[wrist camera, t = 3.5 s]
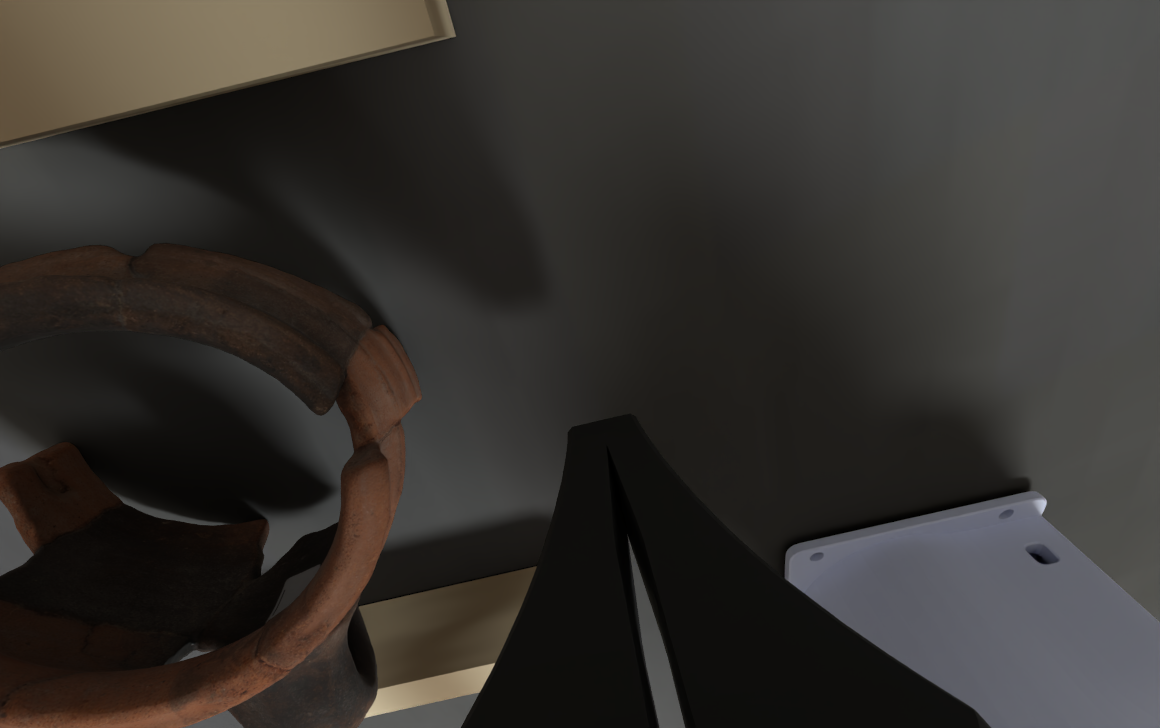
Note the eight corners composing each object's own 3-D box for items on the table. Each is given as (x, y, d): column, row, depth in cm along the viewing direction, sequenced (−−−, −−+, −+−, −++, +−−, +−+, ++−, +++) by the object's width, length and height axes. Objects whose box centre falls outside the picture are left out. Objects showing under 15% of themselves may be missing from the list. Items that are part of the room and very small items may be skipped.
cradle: (426, -70, 8) (388, -116, 6) (610, 575, 19) (625, 659, 16) (-204, 87, 8) (-503, 108, 6) (322, 640, 19) (293, 733, 16)
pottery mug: (-76, 369, 12) (-781, 479, 5) (304, 201, 15) (254, 98, 7) (246, 694, 16) (147, 1054, 8) (502, 510, 18) (604, 652, 11)
